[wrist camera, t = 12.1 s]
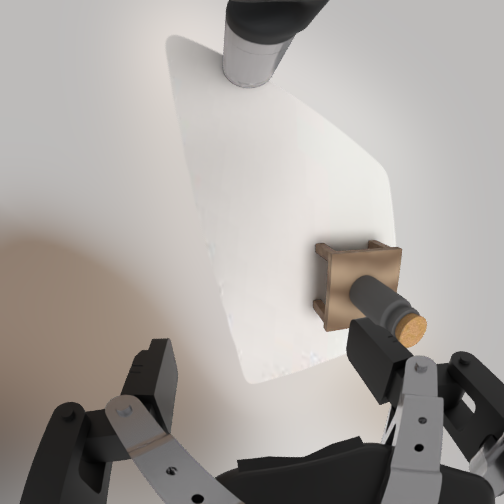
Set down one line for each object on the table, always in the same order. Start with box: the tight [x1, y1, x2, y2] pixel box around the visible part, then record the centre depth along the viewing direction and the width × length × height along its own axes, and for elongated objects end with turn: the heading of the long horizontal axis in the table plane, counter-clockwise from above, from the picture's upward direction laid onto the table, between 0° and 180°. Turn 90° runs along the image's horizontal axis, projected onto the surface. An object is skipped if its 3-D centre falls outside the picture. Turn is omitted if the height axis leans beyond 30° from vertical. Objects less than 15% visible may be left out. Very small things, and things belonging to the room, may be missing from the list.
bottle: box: [349, 275, 427, 348], centre depth 37 cm, size 6×6×15 cm
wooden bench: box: [313, 240, 402, 332], centre depth 49 cm, size 14×14×9 cm
